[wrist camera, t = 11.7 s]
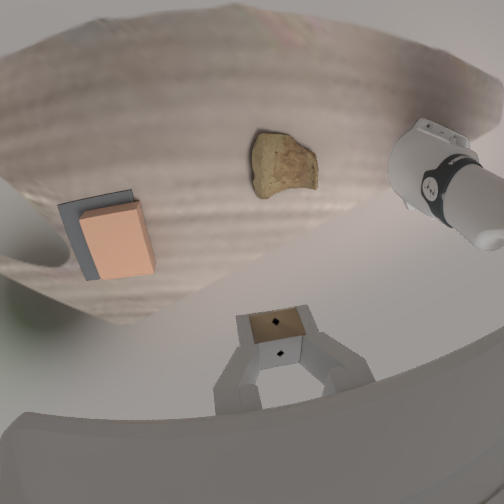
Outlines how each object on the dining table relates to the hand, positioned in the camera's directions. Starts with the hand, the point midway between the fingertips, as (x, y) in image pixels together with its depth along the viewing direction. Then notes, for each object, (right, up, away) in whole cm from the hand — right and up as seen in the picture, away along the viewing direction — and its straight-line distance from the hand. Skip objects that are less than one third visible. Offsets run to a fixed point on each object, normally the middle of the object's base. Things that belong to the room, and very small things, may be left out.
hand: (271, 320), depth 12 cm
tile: (-18, +5, +34) cm, 38 cm away
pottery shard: (-1, +16, +32) cm, 35 cm away
